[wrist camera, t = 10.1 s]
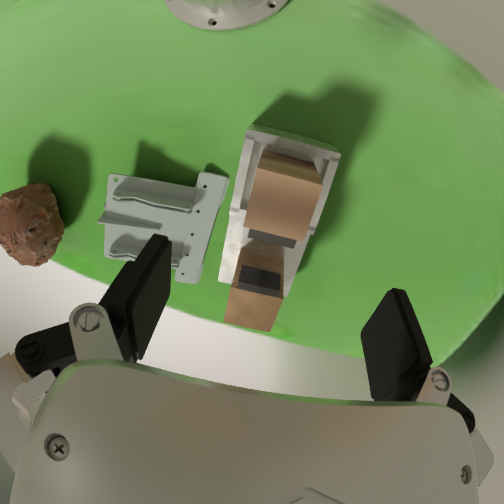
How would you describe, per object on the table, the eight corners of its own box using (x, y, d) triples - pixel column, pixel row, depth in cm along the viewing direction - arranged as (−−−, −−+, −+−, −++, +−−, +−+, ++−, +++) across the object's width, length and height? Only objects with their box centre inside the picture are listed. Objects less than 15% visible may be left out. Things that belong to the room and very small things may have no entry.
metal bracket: (95, 277, 30) (98, 160, 22) (105, 249, 35) (114, 143, 27) (206, 294, 35) (242, 187, 27) (204, 264, 40) (235, 166, 31)
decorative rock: (79, 184, 30) (27, 221, 21) (81, 254, 36) (43, 297, 28) (19, 167, 29) (-29, 195, 20) (25, 230, 35) (-13, 264, 26)
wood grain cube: (263, 149, 23) (256, 167, 18) (314, 163, 23) (323, 185, 18) (249, 204, 26) (240, 236, 21) (297, 216, 26) (300, 250, 21)
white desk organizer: (252, 123, 25) (237, 138, 17) (332, 144, 25) (354, 170, 17) (222, 265, 34) (206, 319, 26) (287, 280, 34) (286, 336, 27)
